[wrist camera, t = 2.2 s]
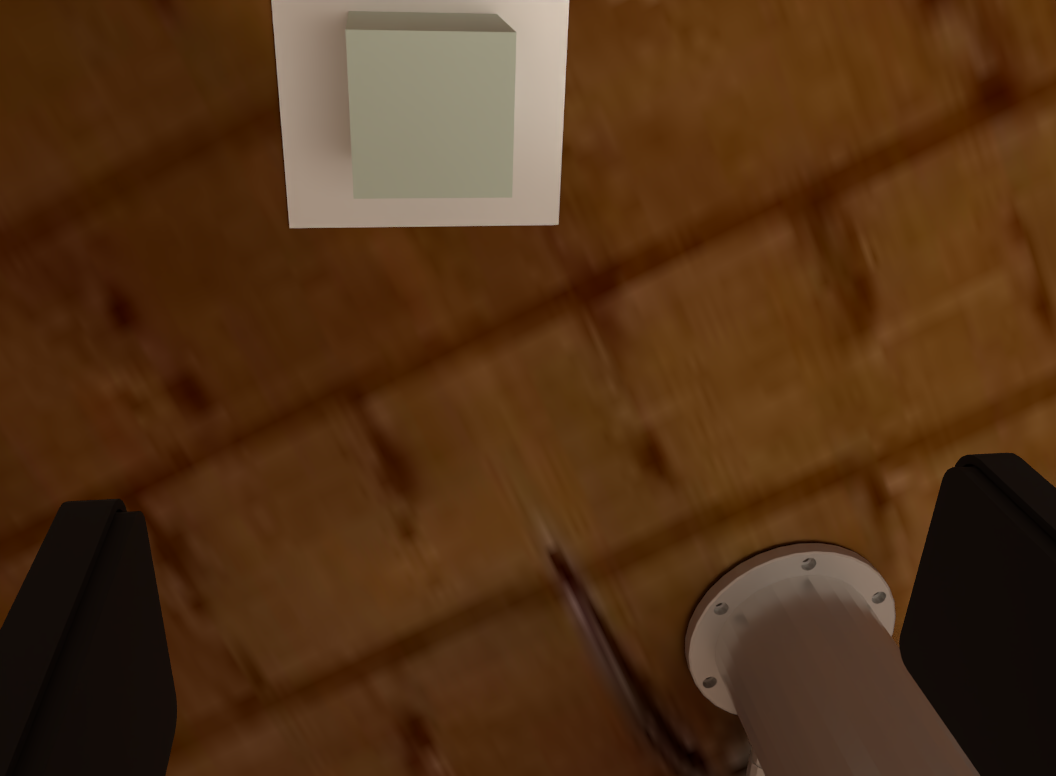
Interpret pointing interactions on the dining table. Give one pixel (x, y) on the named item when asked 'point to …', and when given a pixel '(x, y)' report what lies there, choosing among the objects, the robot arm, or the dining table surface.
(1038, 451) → the dining table surface
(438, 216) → the tile
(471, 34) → the sage block
